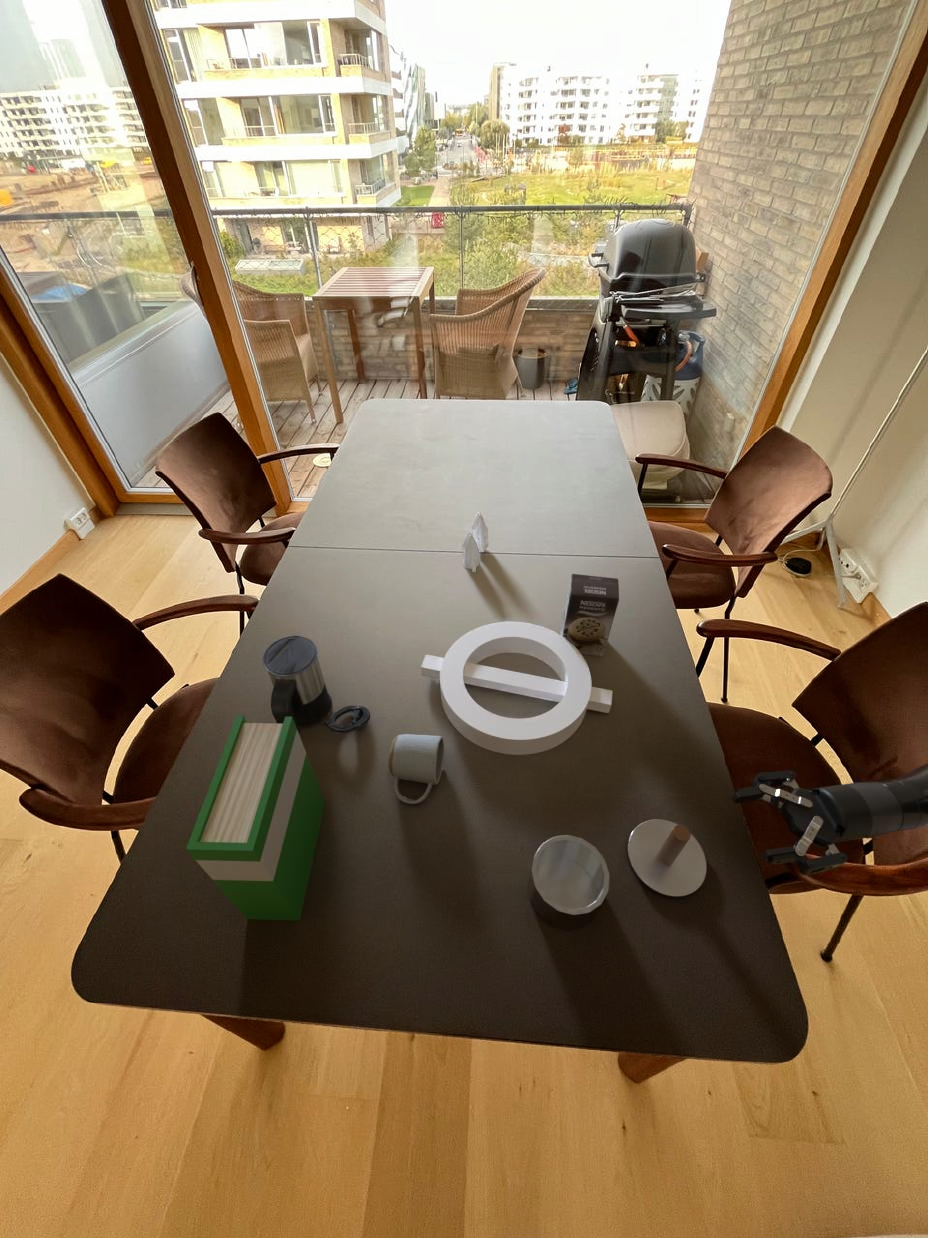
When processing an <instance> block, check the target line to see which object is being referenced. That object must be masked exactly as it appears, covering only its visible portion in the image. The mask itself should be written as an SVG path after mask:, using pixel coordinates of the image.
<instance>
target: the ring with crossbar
mask: <svg viewBox="0 0 928 1238" xmlns="http://www.w3.org/2000/svg"><path fill="white" fill-rule="evenodd" d="M509 653H510V654H521V655H526V656H530V657H533V658H536V659H537V660H539V661H541V662H543V663H545V664H546V665H548V666H549V667H550V668H551V669H552V670H553V671H554V672H555V673H556V675H557V676H558V678H559V679H560V680H559V679H555V678H551V677H550V678H549V677H545V676H544V677H543V676H540V675H534V674H528V673H523V672H518V671H513V670H508V669H503V668H498V667H493V666H487V665H482V664H479V663H480V662H481V661H483V660H485V659H487V658H489V657H492V656H495V655H499V654H509ZM588 665H589V664H588V663H587V661H586V658H584V656H583V654H581V653H580V652H579V651H578V650H577V648H576V647H575V646H574V645H573V644H571V643H570V642H569V641H568V640H567V639H565V638H564V637H562V636H561V635H560V633H558V632H556V631H553V630H551V629H549V628H547V627H545V626H542V625H539V624H535V623H529V622H523V621H498V622H492V623H488V624H484V625H482V626H478V627H475V628H473V629H472V630H469V631H468V632H466V633H465V634H463V635H462V636H460V637H459V638H458V639H457V640H455V642H453V644H451V646H450V647H449V649H448V650H447V651H446V653H445V655H444V657H442V656H436V655H431V654H425V656H424V658H423V661H422V664H421V666H420V672H421V673H420V674H421V676H424V677H428V678H435V679H439V687H440V699H441V706H442V708H443V711H444V713H445V715H446V717H447V719H448V721H449V722H450V724H451V725H452V726H453V727H454V728H455V730H456V731H457V732H458V733H459V734H461V736H463V737H464V738H465V739H467V740H468V741H469V742H471V743H473V744H475V745H476V746H478V747H481V748H483V749H484V750H488V751H492V752H495V753H499V754H504V755H513V756H526V755H532V754H533V755H534V754H539V753H542V752H546V751H549V750H551V749H554V748H556V747H558V746H559V745H561V744H563V743H564V742H566V741H567V740H568V739H570V738H571V737H572V736H573V735H574V734H575V732H576V731H577V730H578V729H579V727H580V726H581V724H582V722H583V721H584V719H585V716H586V713H587V710H591V711H595V712H600V713H606V714H610V712H611V708H612V704H613V703H612V701H613V690H611V689H606V688H600V687H595V686H592V676H591V675H592V674H591V672H590V668H589V666H588ZM465 684H467V685H472V686H476V687H480V688H481V687H482V688H486V689H492V690H497V691H501V692H506V693H511V694H515V695H520V696H526V697H531V698H534V699H535V698H536V699H541V700H546V701H551V702H556V703H557V704H555V706H554V707H553V708H551V709H549V710H548V711H546V712H544V713H541V714H539V715H536V716H532V717H525V718H516V717H515V718H512V717H506V716H502V715H498V714H495V713H493V712H492V711H489V710H487V709H485V708H483V707H482V706H480V705H479V704H478V703H477V702H476V701H475V700H474V699H473V698H472V697H471V694H470V693H469V692H468V690H467V688H466V685H465Z"/></svg>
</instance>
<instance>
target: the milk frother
mask: <svg viewBox="0 0 928 1238" xmlns="http://www.w3.org/2000/svg"><path fill="white" fill-rule="evenodd" d="M261 660H262V661H261V662H262V663H261V664H262V666H263V668H264V669H265V670H266V672H267V673H268V675H269V679H270V681H271V684H272V686H273V688H272V692H271V696H270V709H271V714H272V716H273V718H274V720H275V722H276V724H283V722H284V719H285V717H293V720H294V723H295V725H296V728H297V730H298V733H299V736H300V737H301V733H302V732H301V728H309V727H313V726H316V725H318V724H319V723H322V724H323V726H325V727H326V728H327V729H328V730H329V731H330V732H332V733H335V734H348V733H352V732H355V731H357V730H359V729H360V728H361V729H362V727H364V726H365V725H366V724H367V723H368V722H369V720H370V719H371V712H370V710H369V709H368V708H367V707H366V706H363V705H361V704H358V705H357V704H356V705H349V706H344V707H342V708H341V709H339V710H337V711H335V712H334V713H332V715H331V716H330V718H329V720H328V721H327V720H326V718H327V717H328V715H329V714H330V712H331V711H332V708H333V707H332V706H333V700H332V696H331V695H330V694H329V692H328V689H327V685H326V683H325V679H324V676H323V671H322V668H321V665H320V661H319V657H318V647H317V645H316V644H315V642H313V640H312V639H310V638H307V637H305V636H302V635H289V636H285V637H282V638H278V639H277V640H275V641H274V642H272V643H271V644H270V645H269V646H268V647H267V648H266V649H265V651H264V653H263V655H262V658H261ZM347 713H352V717H351V724H348V725H343V726H342V725H338V724H336V722H337V720H338V719H339V718H341V716H343V715H345V714H347Z"/></svg>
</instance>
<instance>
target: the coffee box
mask: <svg viewBox="0 0 928 1238" xmlns="http://www.w3.org/2000/svg"><path fill="white" fill-rule="evenodd" d="M570 574H571V575H570V581H569V585H568V591H567V596H566V601H565V605H564V611H563V616H562V621H561V627H560V630H559V631H560V633H559V635H561V636H562V637H564V638H565V639H567V640H568V641H569V642H570V643H571V644H573V645H574V646H575V647H576V648H577V650H578V651H579V652H580V653H581V655H585V656H593V657H601V658H603V657H605V656H604V655H605V651H606V647H607V645H608V641H609V638H610V634H611V631H612V626H613V624H614V619H615V616H616V613H617V609H618V605H619V602H620V589H619V588H620V586H619V585H620V584H619V579H618V578H616V577H606V576H597V575H589V574H588V575H587V574H578V573H570Z"/></svg>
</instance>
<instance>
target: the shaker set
mask: <svg viewBox="0 0 928 1238" xmlns="http://www.w3.org/2000/svg"><path fill="white" fill-rule="evenodd" d="M488 548H489V530H488V526H487V524H486V521H485V519H484V517H483V515H482V513H481V512H479V511H478V512H477V513H476V514H475V516H474V518H473V520H472V523H471V532H467V534H466V535H465V537H464V539H463V542H462V562H463V564H462V565H463V566H464V568H465V569H470V570H471V572H472V573H476V572H477V568H478V567H479V566H480V552H481V553H486V549H488Z"/></svg>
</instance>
